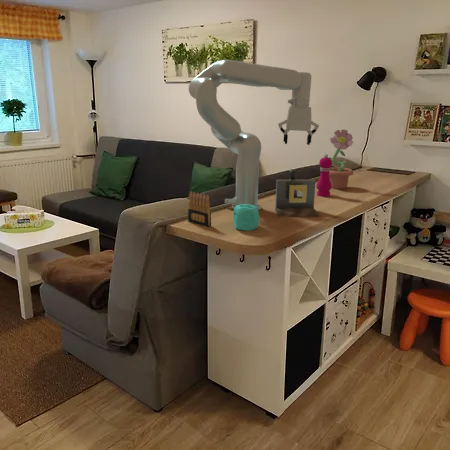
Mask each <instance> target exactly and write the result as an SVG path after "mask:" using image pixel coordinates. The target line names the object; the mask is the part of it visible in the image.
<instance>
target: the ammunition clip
mask: <svg viewBox="0 0 450 450" xmlns="http://www.w3.org/2000/svg"><path fill="white" fill-rule="evenodd" d="M188 200H189V201H188V211H187V213H188V214H187V218H188V219H187V222H189V223H192V224H196V225H199V226H203V227H206V228H208V227H209V228H210V227H211V226H212V213H211V206H210V205H211V204H210V196H209V195H208V194H205V193H203V194H202V193H199V192H198V191H197V193H196V191H190V192H189V199H188Z"/></svg>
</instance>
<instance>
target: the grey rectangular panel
mask: <svg viewBox="0 0 450 450" xmlns="http://www.w3.org/2000/svg"><path fill="white" fill-rule="evenodd" d="M289 185H307V196H306V203H289ZM301 191H302V190H301ZM315 193H316V180H315V179H296V180H289V179H276V184H275V207H276V208H314V209H315ZM294 198H301V197H297V196H296V195H295V194H294Z"/></svg>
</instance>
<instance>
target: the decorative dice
mask: <svg viewBox="0 0 450 450" xmlns="http://www.w3.org/2000/svg"><path fill="white" fill-rule="evenodd" d="M259 212H260V211H259V210H258V208H257V207H256V206H255V205H250V204H241V205H237V206H236V207H235V208H234V209H233V225H234V228H235V229H236V230H238V231H243V232H247V231H248V232H249V231H254V230H256V229H257V228H258V227H259V223H260V213H259Z"/></svg>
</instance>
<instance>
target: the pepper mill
mask: <svg viewBox="0 0 450 450" xmlns="http://www.w3.org/2000/svg"><path fill="white" fill-rule="evenodd" d="M330 158H331V157H329V155H328V154H327V153H325V154H324V157H321V158H320V159H319V162H318V165H319V166H320V168H319V171H320V176H319V178H318V181H317V182H316V185H315V188H316V189H317V191H316V192H317V193H316V196H318V197H330V196H331V192H330V191H331V189H333V188H332V184H331V181H330V175H329V172H330V169H331V168H332V165H333V162H332V159H330Z"/></svg>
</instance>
